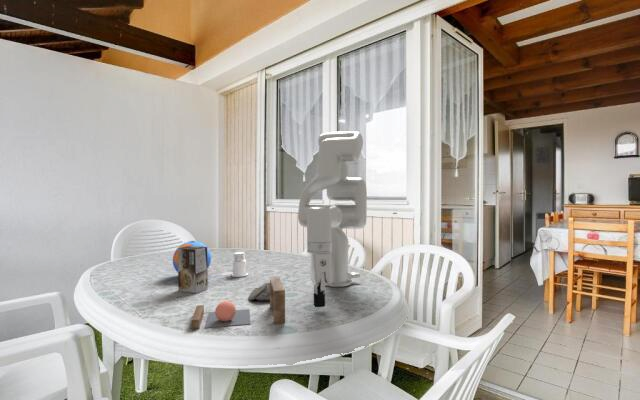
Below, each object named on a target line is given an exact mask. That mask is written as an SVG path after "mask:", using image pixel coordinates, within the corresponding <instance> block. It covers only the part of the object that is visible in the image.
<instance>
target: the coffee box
mask: <svg viewBox="0 0 640 400" xmlns="http://www.w3.org/2000/svg"><path fill="white" fill-rule="evenodd" d="M177 248H178V247H177ZM207 248H208V246H206V247H201V246H185V247H182V248H178V272H177V276H178V277H177V281H178V284H177V285H178V292H186V293H192V294H198V293H201V292H204V291H207V290H208V289H209V286H208V285H209V281H208V280H209V279H208V278H209V277H208V276H209V275H208V274H209V273H208V269H209V267H208V268H207Z"/></svg>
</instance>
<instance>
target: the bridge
mask: <svg viewBox="0 0 640 400" xmlns="http://www.w3.org/2000/svg"><path fill="white" fill-rule="evenodd" d="M269 283H270V300H269V308H270V310H273V323H274V325H277V324H281V325H282V324H286V289H285V287H284V285H283V282H282V280H281V279H280V277H270V278H269Z"/></svg>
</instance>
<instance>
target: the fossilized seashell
mask: <svg viewBox="0 0 640 400" xmlns="http://www.w3.org/2000/svg"><path fill="white" fill-rule="evenodd" d="M247 297H248V299H247V300H249V301H254V300H255V299H256V300H257V301H264V302H267V301H269V302H270V282H265V283H263V284H262V285H261V286H259V287H255V288H254V289H253V290H252V291H251V292H250V293H249V296H247Z"/></svg>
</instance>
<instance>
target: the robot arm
mask: <svg viewBox="0 0 640 400" xmlns="http://www.w3.org/2000/svg"><path fill="white" fill-rule="evenodd" d="M317 142H318V154H317V161H316V163H317V164H316V171H315V177H314V178H313V179H311V180H310V181H309V182H308V183H307V185H306V186H304V189H303V191H302V192H301V194H300V197H299V203H298V212H297V218H298V222H299V223H298V224H299V225H300V226H301V227H303V228H306V253H309V279H310V281H311V282H312V284H313V306H314V307H315V308H324V307H325V306H326V287H333V288H343V287H347V286H351V285H352V284H353V279H359V278H360V277H361V274H360V272H350V271H349V239H348V238H349V237H348V236H347V235H346V232H344V231H343V230H345V229H348V230H349V229H350V230H351V229H353V230H354V229H355V230H359V229H363V228H365V226H366V224H367V215H368V214H367V213H368V212H367V211H368V210H367V209H368V208H367V202H368V201H367V183H366V181H365V180H364V178H362V177H356V176H354V177H352V176H351V177H349V176H348V175H349V172H348V169H349V166H348V163H347V162H357V161H358V160H359V158H360V156H361V154H362V150H363V147H364V140H363V135H362V134H361V133H360V132H359V131H331V132H324V133H321V134H320V135H319V136H318V140H317ZM324 190H326V196H327V198H328V200H330V201H332V202H354V203H355V204H341V203H340V204H338V203H337V204H329V205H328V204H325V205H324V204H310V202H311V201H312V199H313V197H315V196H316V195H317V194H319V193H320V192H323V191H324Z"/></svg>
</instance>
